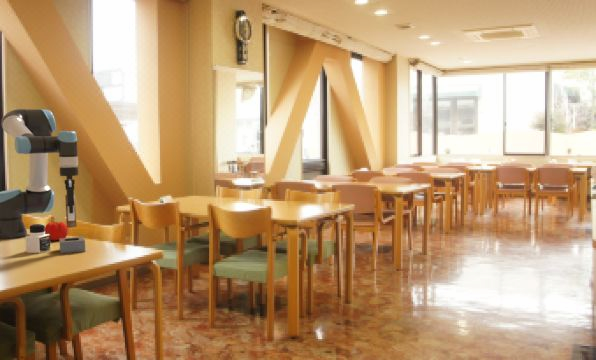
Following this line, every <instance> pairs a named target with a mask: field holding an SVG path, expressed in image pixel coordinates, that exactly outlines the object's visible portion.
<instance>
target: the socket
mask: <svg viewBox="0 0 596 360" xmlns="http://www.w3.org/2000/svg"><path fill="white" fill-rule="evenodd" d="M58 241H59V254H60V255H63V254H74V253H85V252H86V240H85V237H84V236H77V237H76V236H75V237H73V236H72V237H66V238H60V239H59V240H58Z"/></svg>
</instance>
